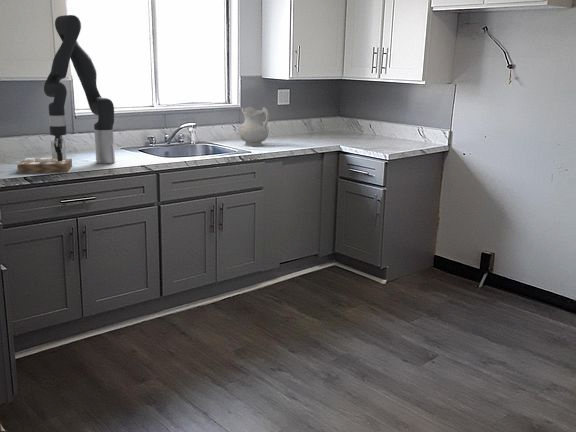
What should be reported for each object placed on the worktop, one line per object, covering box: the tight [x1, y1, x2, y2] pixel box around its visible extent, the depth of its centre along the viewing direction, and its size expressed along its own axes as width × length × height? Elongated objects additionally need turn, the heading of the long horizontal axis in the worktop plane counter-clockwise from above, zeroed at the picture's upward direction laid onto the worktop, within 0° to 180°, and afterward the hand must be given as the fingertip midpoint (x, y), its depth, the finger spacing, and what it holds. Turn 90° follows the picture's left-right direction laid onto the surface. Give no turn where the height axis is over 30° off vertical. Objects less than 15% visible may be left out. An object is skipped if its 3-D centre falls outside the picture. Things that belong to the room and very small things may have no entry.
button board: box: [16, 158, 73, 174], centre depth 294 cm, size 22×16×4 cm
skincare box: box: [50, 138, 67, 159], centre depth 313 cm, size 6×4×12 cm
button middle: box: [39, 157, 51, 162], centre depth 294 cm, size 4×4×2 cm
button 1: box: [23, 157, 36, 162], centre depth 293 cm, size 4×4×2 cm
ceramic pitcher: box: [237, 105, 270, 147], centre depth 388 cm, size 22×20×25 cm
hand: (60, 160), depth 295 cm, fingers closed
